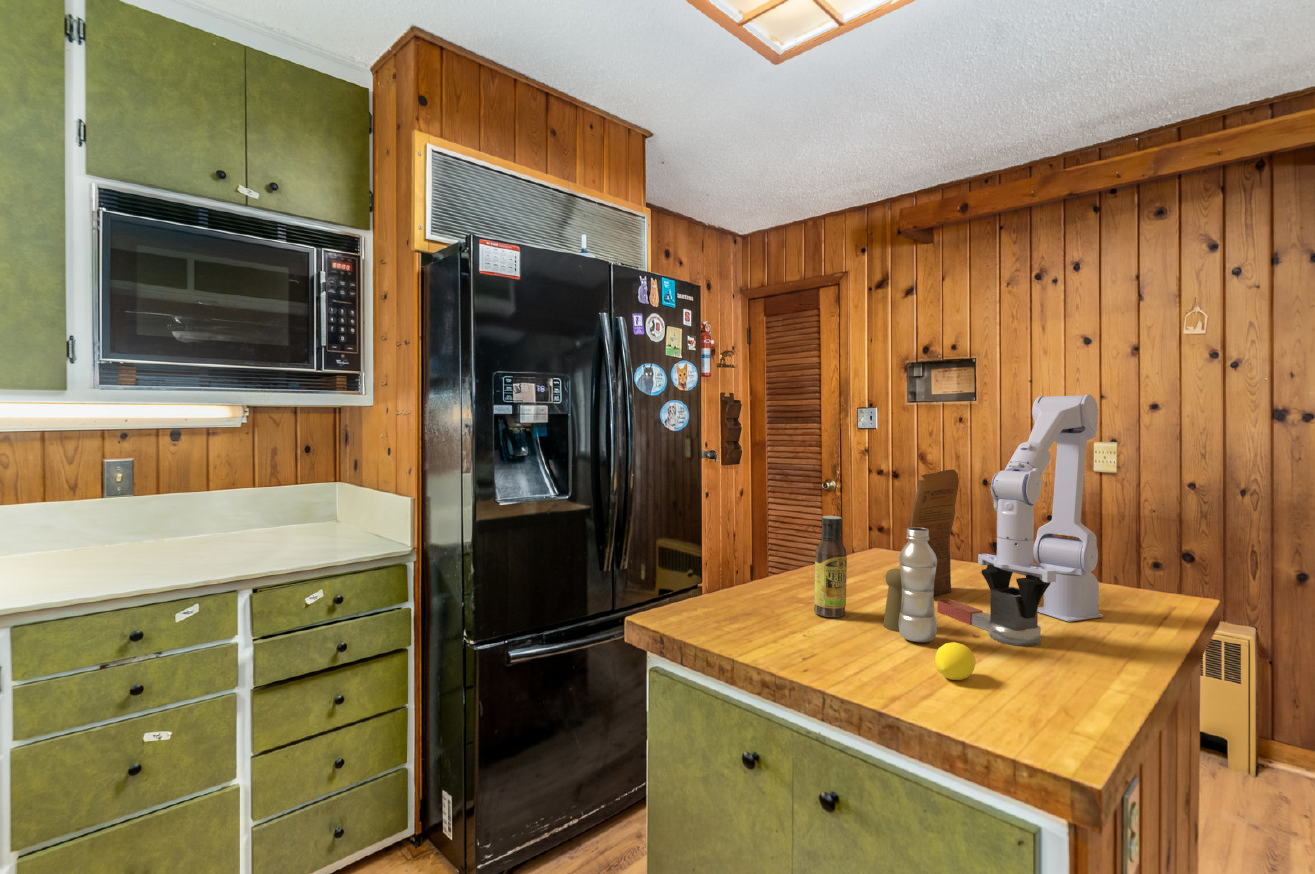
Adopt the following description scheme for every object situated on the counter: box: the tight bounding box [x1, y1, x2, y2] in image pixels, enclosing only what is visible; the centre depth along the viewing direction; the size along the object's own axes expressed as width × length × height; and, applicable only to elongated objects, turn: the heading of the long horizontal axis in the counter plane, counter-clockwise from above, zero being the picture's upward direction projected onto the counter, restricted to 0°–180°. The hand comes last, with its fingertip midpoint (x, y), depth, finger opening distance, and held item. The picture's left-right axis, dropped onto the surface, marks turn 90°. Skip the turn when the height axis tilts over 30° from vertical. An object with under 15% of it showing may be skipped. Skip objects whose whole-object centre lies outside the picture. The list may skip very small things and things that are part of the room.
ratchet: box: [937, 598, 1042, 647], centre depth 118 cm, size 8×21×6 cm, turn 18°
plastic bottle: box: [898, 527, 938, 643], centre depth 111 cm, size 6×7×20 cm
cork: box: [882, 568, 902, 633], centre depth 118 cm, size 6×6×11 cm
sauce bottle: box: [813, 515, 848, 618], centre depth 126 cm, size 6×6×20 cm
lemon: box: [934, 641, 977, 681], centre depth 95 cm, size 7×5×5 cm
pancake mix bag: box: [909, 469, 959, 598], centre depth 140 cm, size 7×19×28 cm, turn 124°
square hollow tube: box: [989, 586, 1039, 631], centre depth 111 cm, size 5×5×6 cm
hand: (1014, 612), depth 111 cm, fingers closed on square hollow tube, 5 cm apart
